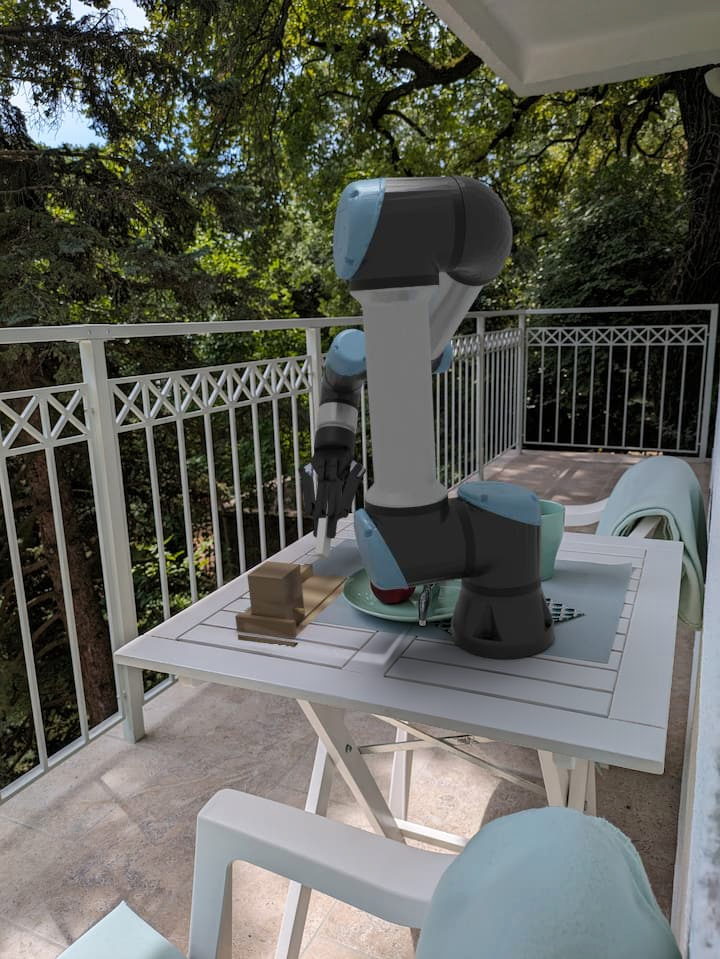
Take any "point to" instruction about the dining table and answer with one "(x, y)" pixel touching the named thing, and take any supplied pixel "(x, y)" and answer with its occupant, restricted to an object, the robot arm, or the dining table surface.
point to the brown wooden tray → (315, 598)
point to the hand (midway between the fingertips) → (321, 555)
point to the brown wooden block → (277, 591)
